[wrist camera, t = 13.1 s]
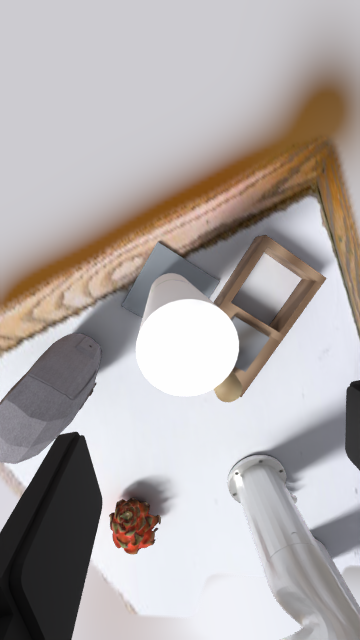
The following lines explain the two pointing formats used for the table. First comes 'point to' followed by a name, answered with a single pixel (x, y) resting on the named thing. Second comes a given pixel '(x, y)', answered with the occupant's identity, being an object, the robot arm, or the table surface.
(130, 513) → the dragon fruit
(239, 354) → the wooden divided tray
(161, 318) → the cylindrical container
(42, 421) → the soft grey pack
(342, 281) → the table surface
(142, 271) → the mat
